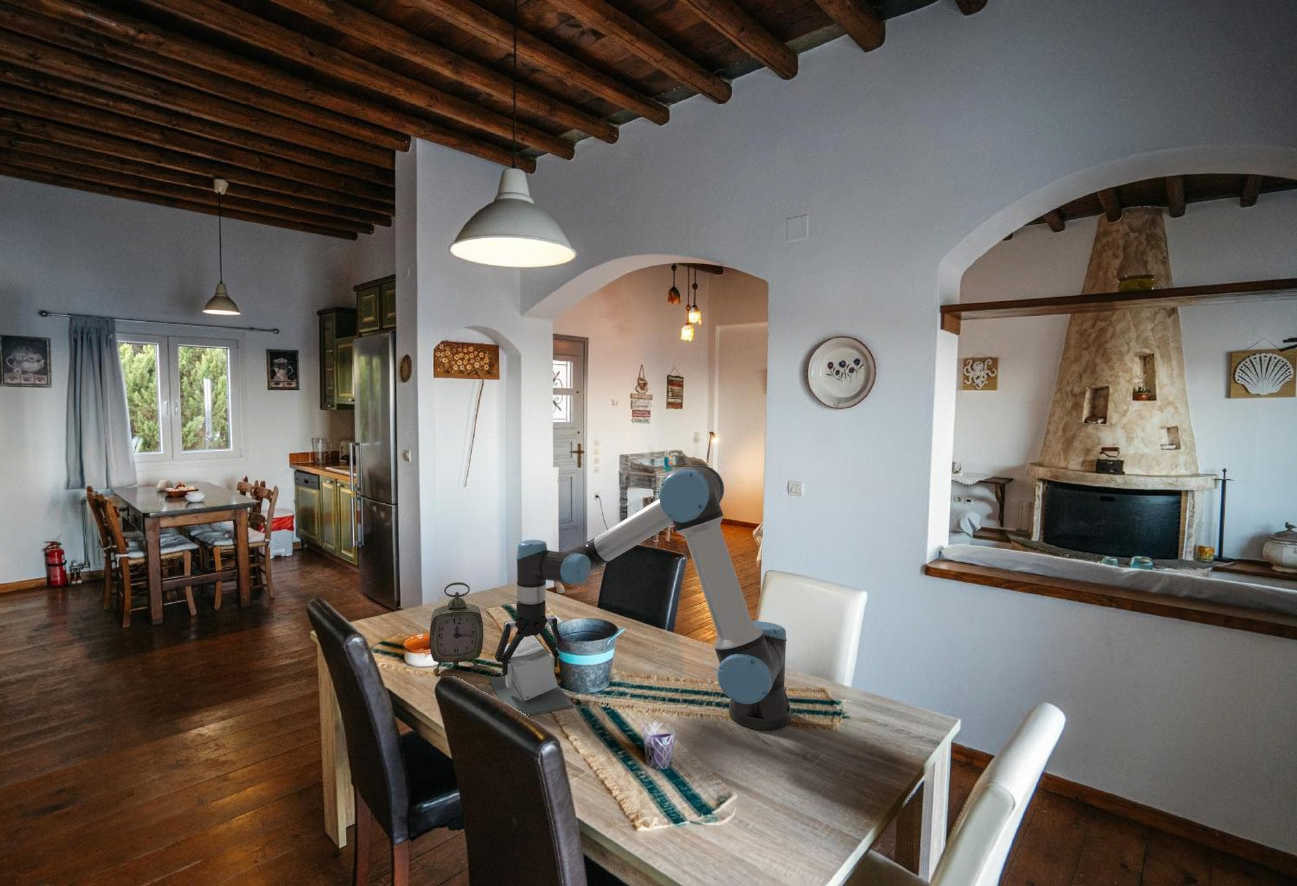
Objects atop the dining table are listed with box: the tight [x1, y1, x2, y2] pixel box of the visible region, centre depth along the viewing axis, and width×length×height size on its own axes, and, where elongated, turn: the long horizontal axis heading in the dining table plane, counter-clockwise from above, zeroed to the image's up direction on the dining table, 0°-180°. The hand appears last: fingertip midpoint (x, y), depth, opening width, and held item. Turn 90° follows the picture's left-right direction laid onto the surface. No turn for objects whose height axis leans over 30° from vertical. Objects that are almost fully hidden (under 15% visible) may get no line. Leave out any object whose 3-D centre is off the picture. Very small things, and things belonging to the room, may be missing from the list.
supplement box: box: [504, 636, 559, 701], centre depth 167 cm, size 10×9×17 cm
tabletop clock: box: [429, 581, 485, 675], centre depth 181 cm, size 14×9×25 cm, turn 108°
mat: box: [489, 675, 574, 717], centre depth 167 cm, size 24×16×1 cm, turn 26°
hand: (530, 682), depth 167 cm, fingers closed on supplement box, 11 cm apart
